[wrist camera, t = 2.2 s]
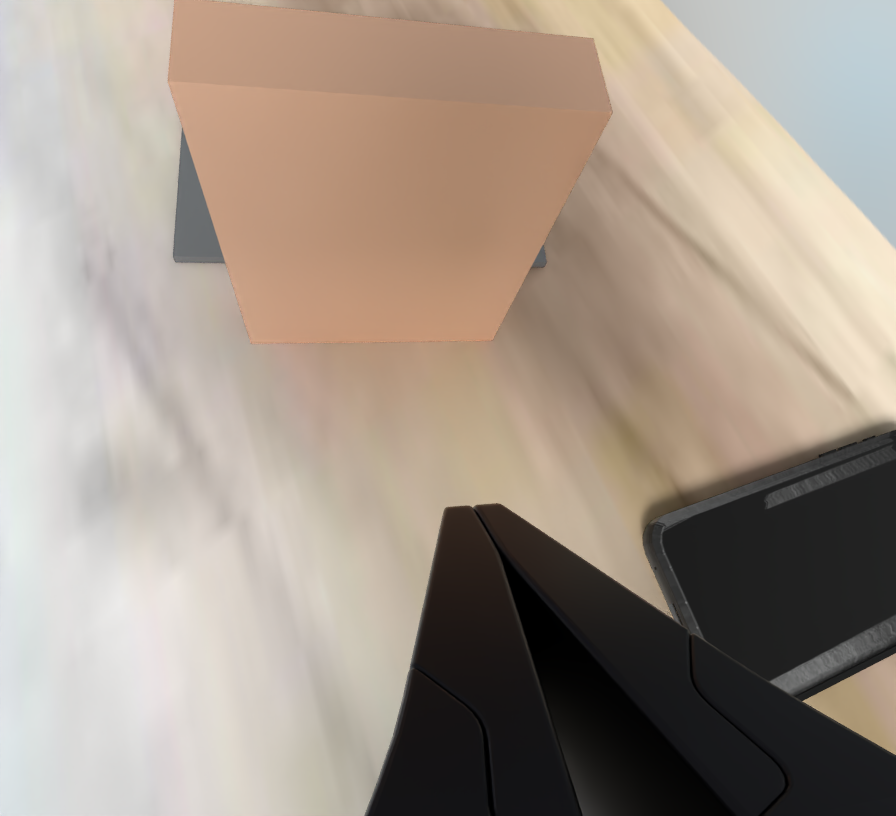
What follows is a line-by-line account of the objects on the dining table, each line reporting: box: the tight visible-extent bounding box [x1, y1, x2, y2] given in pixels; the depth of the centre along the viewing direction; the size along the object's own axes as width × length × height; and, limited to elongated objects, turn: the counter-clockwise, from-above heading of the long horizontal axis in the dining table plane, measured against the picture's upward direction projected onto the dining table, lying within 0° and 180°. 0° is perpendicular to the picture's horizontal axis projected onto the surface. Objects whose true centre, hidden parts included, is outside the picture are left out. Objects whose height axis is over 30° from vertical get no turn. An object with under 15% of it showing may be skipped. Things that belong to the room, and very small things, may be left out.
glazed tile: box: [168, 0, 613, 344], centre depth 19 cm, size 3×10×12 cm, turn 96°
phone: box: [643, 430, 896, 701], centre depth 24 cm, size 8×1×15 cm
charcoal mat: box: [173, 128, 547, 267], centre depth 27 cm, size 15×16×1 cm
